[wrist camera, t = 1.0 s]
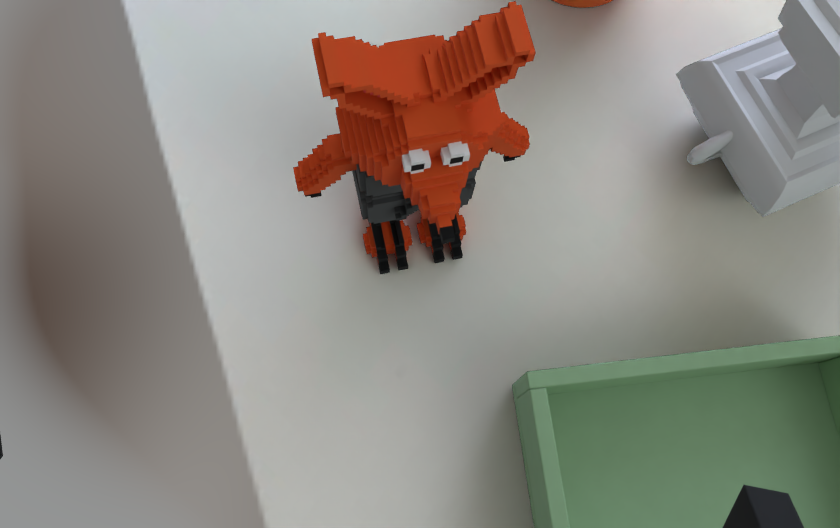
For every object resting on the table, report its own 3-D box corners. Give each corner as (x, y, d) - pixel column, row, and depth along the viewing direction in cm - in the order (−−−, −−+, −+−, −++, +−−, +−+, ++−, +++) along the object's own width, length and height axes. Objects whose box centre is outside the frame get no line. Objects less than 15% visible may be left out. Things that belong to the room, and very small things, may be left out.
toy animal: (328, 331, 29) (291, 219, 17) (304, 200, 30) (255, 18, 19) (531, 289, 30) (623, 156, 18) (497, 164, 31) (562, -32, 20)
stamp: (710, 251, 30) (827, 161, 22) (629, 115, 32) (712, -14, 24) (890, 169, 32) (1061, 57, 24) (805, 43, 33) (937, -101, 25)
